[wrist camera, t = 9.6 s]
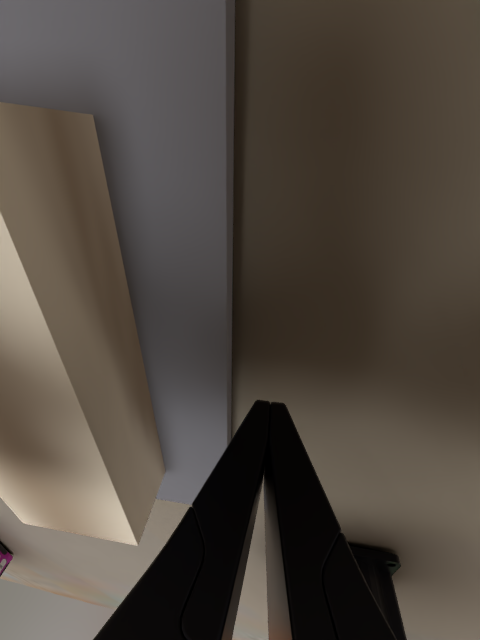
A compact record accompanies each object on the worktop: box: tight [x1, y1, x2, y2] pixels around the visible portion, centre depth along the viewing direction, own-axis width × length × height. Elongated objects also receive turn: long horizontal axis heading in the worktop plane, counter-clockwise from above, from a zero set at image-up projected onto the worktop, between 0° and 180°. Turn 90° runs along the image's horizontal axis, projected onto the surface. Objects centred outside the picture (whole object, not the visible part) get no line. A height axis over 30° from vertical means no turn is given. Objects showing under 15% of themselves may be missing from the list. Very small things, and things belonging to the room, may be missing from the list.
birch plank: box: [0, 102, 165, 546], centre depth 9 cm, size 5×14×3 cm, turn 178°
